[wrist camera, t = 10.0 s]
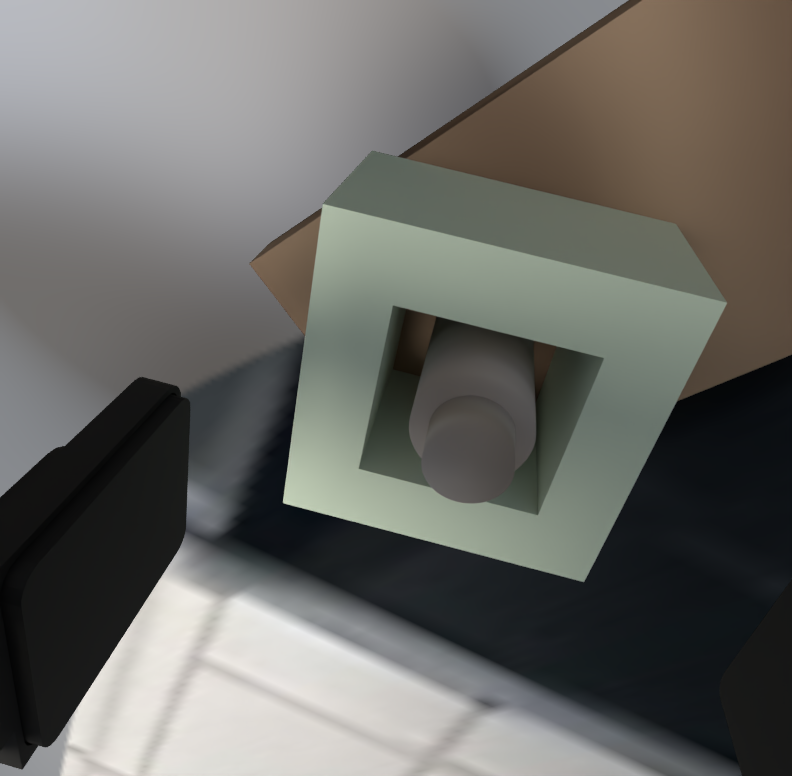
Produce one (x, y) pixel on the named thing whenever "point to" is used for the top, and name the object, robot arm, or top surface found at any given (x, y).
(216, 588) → the top surface
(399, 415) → the collar
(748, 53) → the board
